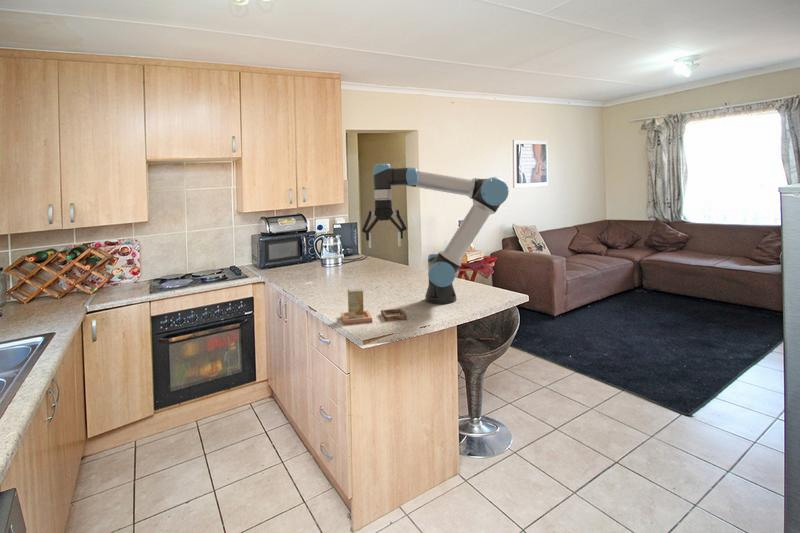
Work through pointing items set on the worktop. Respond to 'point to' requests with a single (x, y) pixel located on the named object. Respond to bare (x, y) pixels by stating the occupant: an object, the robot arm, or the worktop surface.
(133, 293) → the worktop surface
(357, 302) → the skincare box
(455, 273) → the robot arm
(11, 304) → the worktop surface
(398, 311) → the pocket frame
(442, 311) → the worktop surface
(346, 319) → the tray
